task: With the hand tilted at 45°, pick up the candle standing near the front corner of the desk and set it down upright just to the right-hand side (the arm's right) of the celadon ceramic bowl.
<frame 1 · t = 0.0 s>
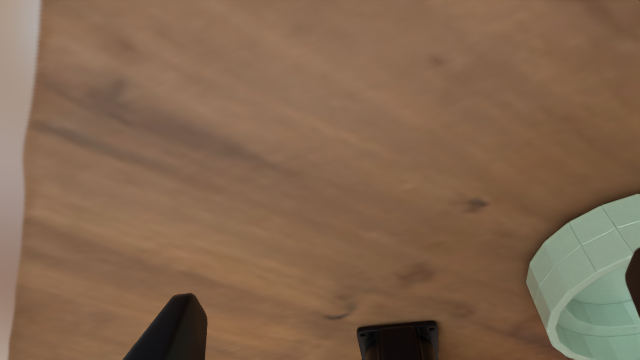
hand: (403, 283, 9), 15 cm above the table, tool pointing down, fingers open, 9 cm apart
bowl: (623, 255, 31), on the table
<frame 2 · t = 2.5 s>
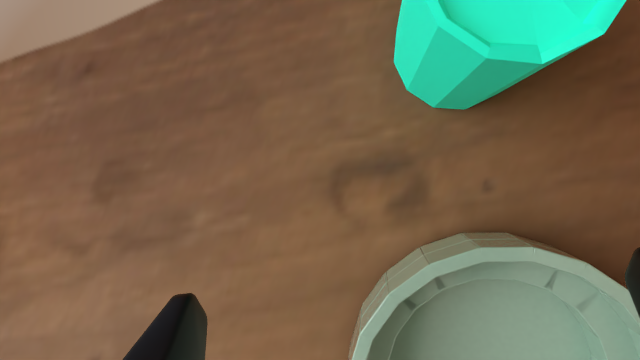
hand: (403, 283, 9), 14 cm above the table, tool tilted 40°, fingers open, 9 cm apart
candle: (453, 50, 22), on the table
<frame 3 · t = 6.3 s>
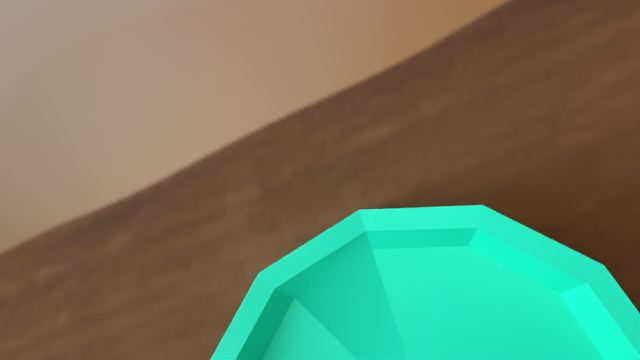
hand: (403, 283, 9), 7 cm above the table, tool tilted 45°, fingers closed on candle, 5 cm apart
candle: (396, 293, 16), on the table, touching gripper
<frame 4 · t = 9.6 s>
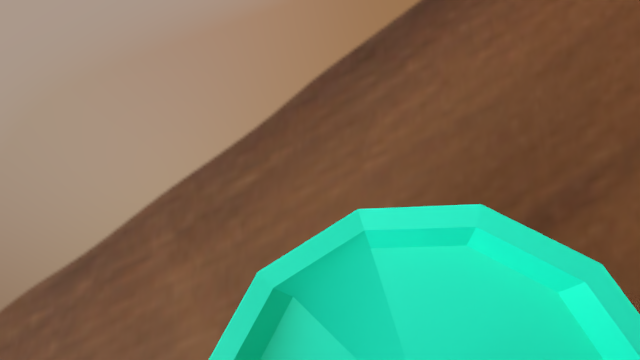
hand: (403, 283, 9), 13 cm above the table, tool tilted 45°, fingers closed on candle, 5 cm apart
candle: (396, 293, 16), point 6 cm above the table, touching gripper
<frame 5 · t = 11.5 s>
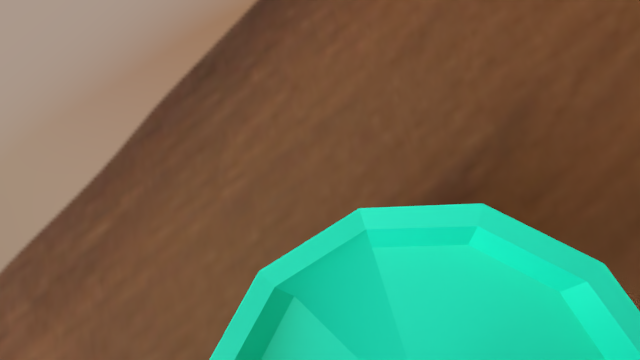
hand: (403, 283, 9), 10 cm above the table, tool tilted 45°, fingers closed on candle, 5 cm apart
candle: (396, 292, 16), point 3 cm above the table, touching gripper
when the fingers open (7 cm above the table, at t = 13.0 s): candle stays where it is, on the table.
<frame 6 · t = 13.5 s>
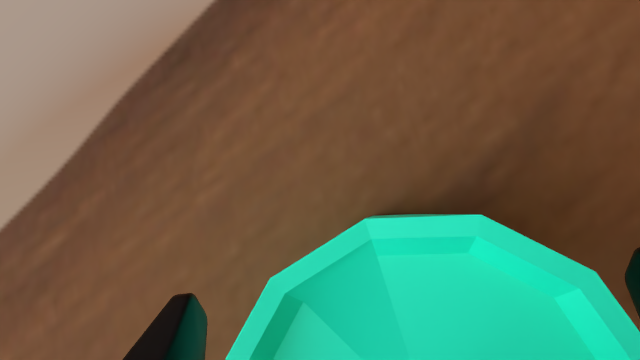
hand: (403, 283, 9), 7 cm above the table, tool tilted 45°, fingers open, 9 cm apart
candle: (398, 295, 16), on the table
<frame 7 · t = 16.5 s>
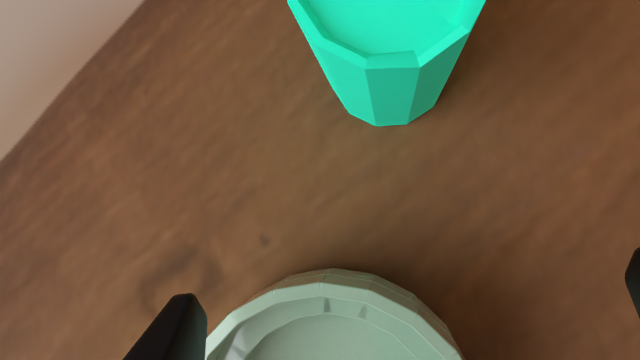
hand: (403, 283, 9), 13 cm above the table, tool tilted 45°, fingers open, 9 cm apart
candle: (388, 70, 23), on the table
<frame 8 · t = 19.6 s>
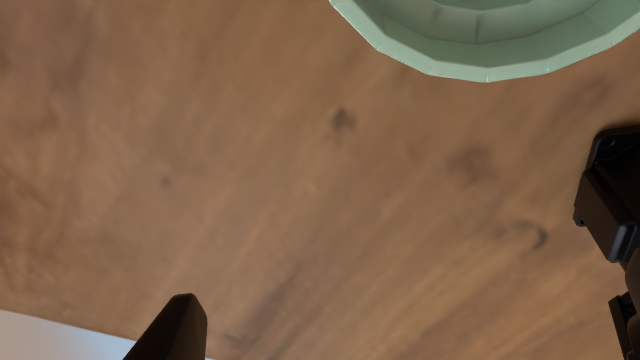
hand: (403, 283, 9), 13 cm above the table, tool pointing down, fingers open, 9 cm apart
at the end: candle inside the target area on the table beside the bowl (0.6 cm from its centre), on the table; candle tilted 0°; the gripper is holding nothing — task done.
